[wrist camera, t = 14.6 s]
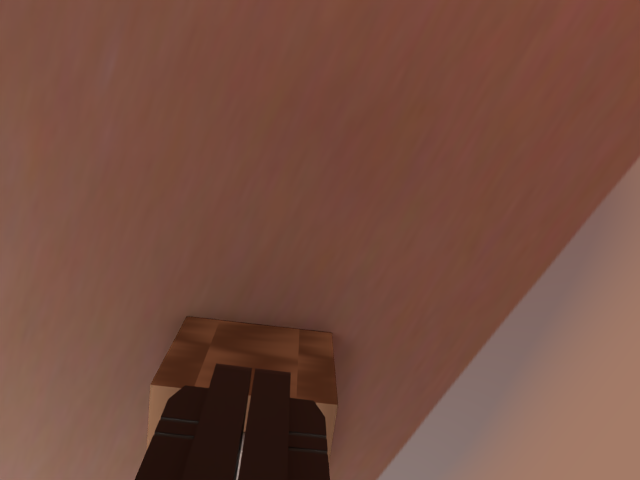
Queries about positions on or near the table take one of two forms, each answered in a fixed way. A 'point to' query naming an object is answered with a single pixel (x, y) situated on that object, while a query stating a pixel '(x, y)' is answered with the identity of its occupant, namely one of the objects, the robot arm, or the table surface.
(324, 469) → the robot arm
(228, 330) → the socket block
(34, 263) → the table surface
